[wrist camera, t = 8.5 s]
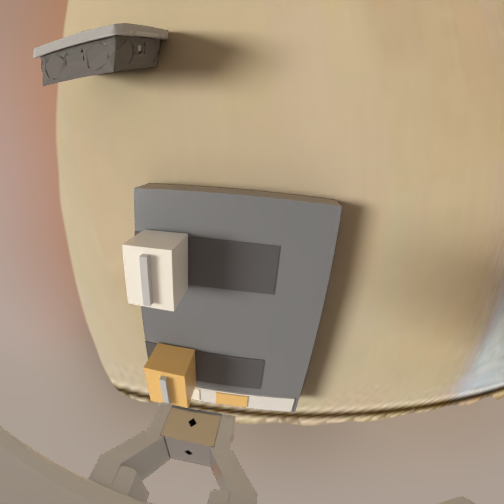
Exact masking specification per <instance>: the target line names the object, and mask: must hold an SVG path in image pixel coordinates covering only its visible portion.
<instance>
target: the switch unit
mask: <svg viewBox="0 0 504 504" xmlns="http://www.w3.org/2000/svg"><path fill="white" fill-rule="evenodd" d="M134 210H135V235H137V234H138V233H140V232H141V231H143V230H144V229H145V230H155V231H166V232H176V233H186V234H188V289H187V291H186V292H185V294H184V296H183V297H182V299H181V301H180V302H179V304H178V306H177V307H176V309H175V311H168V310H162V309H156V308H150V307H145V306H141V310H142V318H143V325H144V333H145V339H146V341H145V342H146V349H147V355H148V359H149V357H150V356H151V354H152V352H153V350H154V348H155V347H156V345H157V343H162V344H167V345H172V346H177V347H183V348H188V349H194V350H195V365H196V386H195V389H194V392H193V395H192V398H191V399H192V400H197V401H202V402H208V403H214V404H221V405H227V406H235V407H243V408H251V409H261V410H271V411H285V412H295V410H296V407H297V403H298V400H299V397H300V393H301V390H302V387H303V383H304V380H305V376H306V372H307V369H308V365H309V362H310V358H311V354H312V350H313V346H314V342H315V338H316V334H317V330H318V326H319V322H320V318H321V314H322V309H323V305H324V300H325V296H326V291H327V287H328V282H329V277H330V272H331V267H332V262H333V257H334V251H335V246H336V240H337V234H338V229H339V223H340V216H341V210H342V206H341V205H340V204H339V203H338V202H337V201H336V200H334V199H326V198H319V197H311V196H303V195H295V194H286V193H277V192H267V191H257V190H246V189H235V188H222V187H209V186H193V185H176V184H154V183H148V184H145V185H142V186H139V187H136V188H134Z"/></svg>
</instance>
